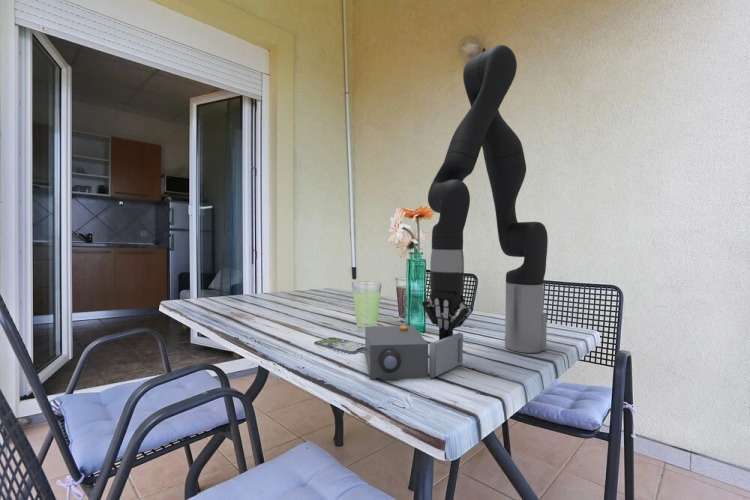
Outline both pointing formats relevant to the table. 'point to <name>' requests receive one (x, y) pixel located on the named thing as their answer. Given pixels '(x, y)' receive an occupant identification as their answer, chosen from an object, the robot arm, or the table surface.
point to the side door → (445, 354)
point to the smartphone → (341, 345)
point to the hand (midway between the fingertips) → (445, 344)
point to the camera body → (395, 352)
